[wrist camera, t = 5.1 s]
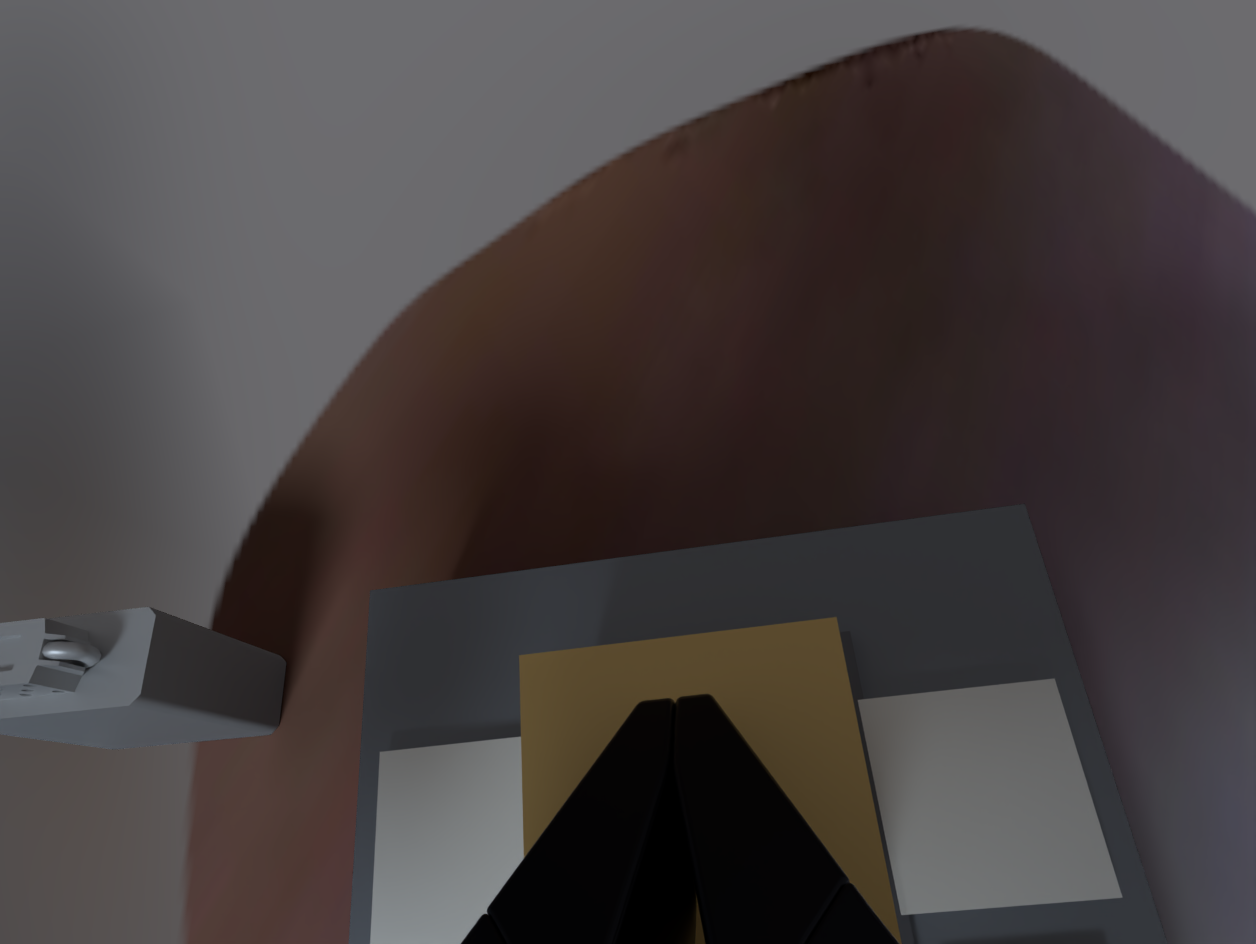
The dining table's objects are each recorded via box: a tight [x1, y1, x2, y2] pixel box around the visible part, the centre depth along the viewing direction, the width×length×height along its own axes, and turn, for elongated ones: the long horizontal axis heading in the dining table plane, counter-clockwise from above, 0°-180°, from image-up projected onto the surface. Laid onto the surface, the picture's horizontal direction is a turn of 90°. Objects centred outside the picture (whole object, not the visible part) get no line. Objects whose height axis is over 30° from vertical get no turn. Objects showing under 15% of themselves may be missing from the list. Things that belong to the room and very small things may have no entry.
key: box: [519, 617, 902, 944], centre depth 10 cm, size 4×4×3 cm
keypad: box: [349, 504, 1168, 944], centre depth 13 cm, size 10×12×3 cm
